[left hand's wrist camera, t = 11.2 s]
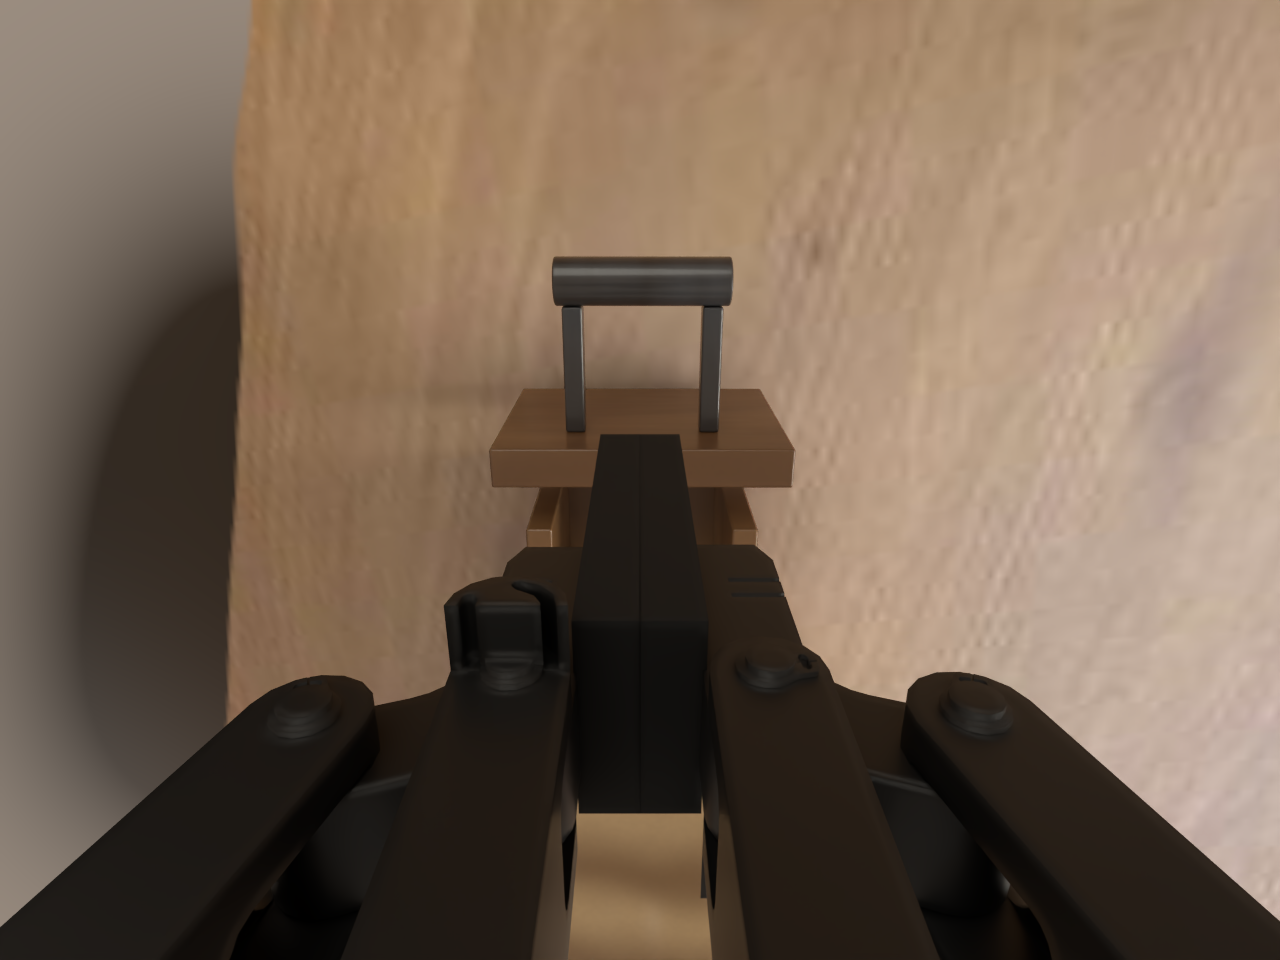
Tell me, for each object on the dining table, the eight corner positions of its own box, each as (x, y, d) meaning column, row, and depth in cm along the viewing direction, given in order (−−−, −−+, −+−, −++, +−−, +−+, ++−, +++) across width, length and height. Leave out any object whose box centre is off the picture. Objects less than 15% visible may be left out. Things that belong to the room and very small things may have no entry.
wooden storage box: (524, 591, 33) (484, 731, 24) (758, 591, 33) (798, 731, 24) (545, 933, 40) (521, 1130, 32) (735, 934, 40) (760, 1130, 32)
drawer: (515, 243, 27) (474, 263, 20) (768, 243, 27) (810, 263, 20) (546, 793, 35) (525, 930, 29) (735, 793, 35) (757, 930, 29)
